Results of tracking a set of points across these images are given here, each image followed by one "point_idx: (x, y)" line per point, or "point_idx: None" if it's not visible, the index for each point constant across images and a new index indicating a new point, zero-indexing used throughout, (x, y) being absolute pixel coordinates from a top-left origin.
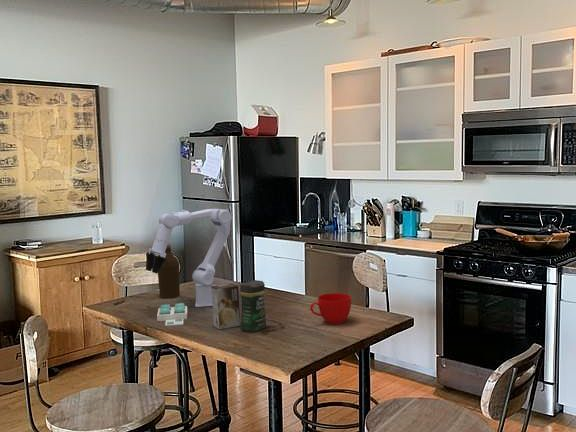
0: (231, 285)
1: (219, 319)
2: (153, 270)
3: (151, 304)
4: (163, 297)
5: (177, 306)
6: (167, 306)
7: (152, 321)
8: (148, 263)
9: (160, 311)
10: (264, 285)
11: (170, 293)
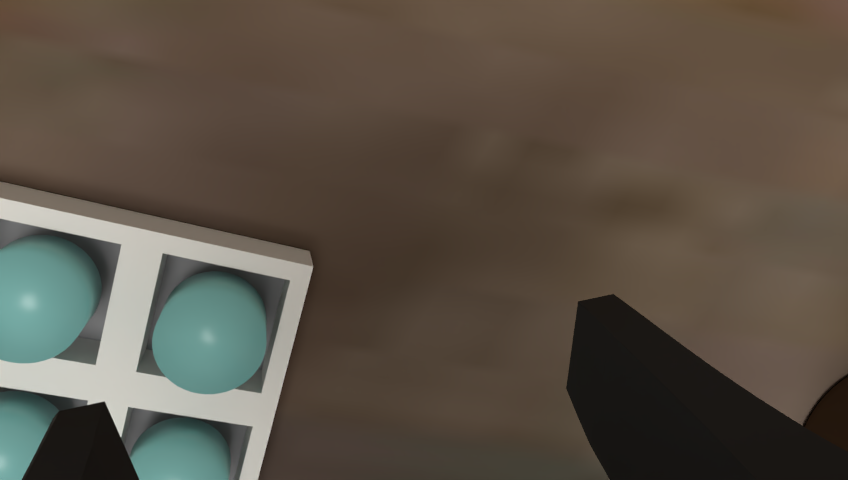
0: None
1: None
2: (39, 471)
3: (706, 246)
4: (842, 386)
5: (133, 460)
6: (155, 358)
7: (17, 129)
8: (689, 453)
9: (9, 247)
10: None
11: None
